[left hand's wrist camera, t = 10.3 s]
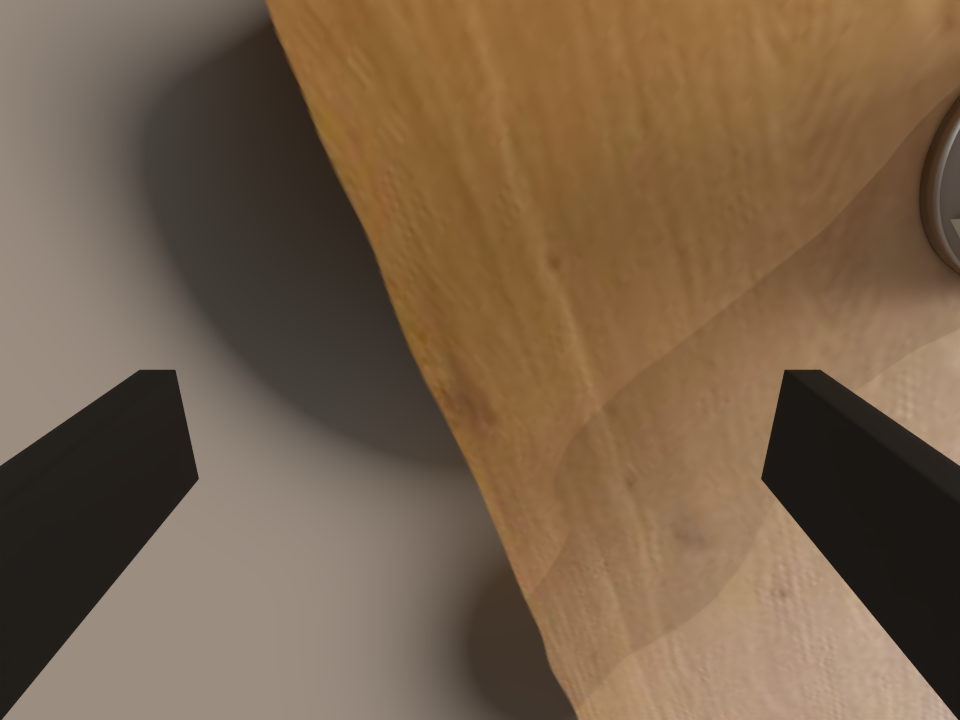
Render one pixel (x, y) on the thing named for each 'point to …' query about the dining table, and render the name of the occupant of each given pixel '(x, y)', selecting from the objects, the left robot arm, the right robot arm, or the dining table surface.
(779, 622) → the dining table surface
